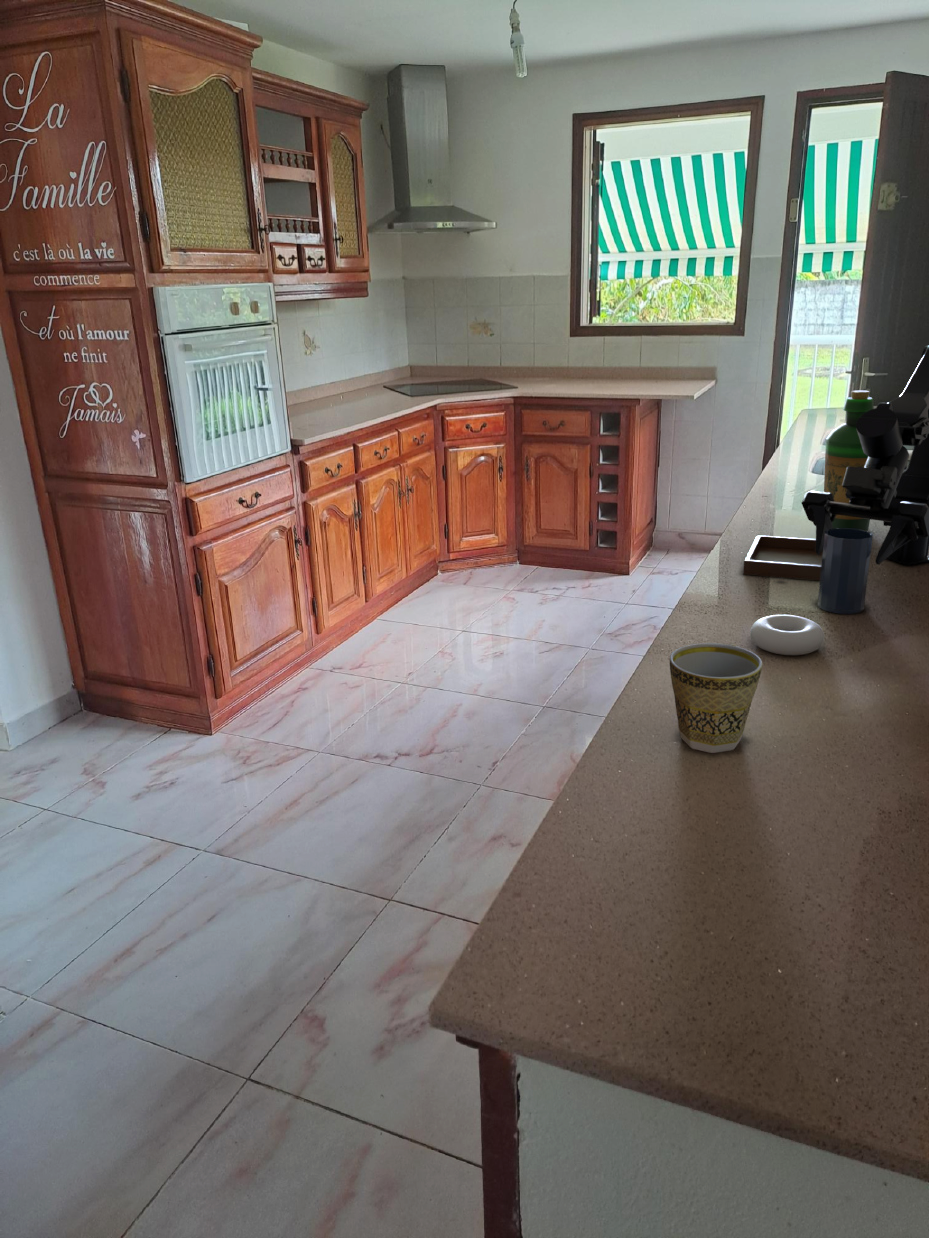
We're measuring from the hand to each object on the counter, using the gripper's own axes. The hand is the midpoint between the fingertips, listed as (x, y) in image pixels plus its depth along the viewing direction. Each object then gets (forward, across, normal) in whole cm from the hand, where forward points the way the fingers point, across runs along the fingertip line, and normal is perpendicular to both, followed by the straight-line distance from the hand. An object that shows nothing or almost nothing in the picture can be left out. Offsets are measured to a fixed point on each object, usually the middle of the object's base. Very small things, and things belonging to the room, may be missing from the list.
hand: (846, 558), depth 137 cm
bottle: (-25, -16, +36) cm, 47 cm away
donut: (+20, 0, -8) cm, 22 cm away
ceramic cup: (+42, +5, -30) cm, 51 cm away
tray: (-6, -16, +18) cm, 25 cm away
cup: (+6, 0, +6) cm, 8 cm away
